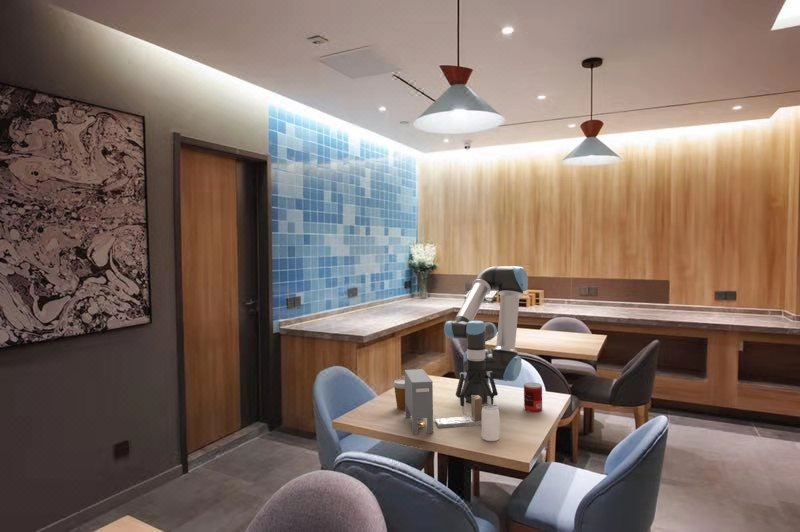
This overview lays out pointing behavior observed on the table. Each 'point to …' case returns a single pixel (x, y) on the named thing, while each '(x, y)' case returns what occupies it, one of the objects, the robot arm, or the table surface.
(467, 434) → the table surface
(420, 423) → the brass token
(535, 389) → the canned food
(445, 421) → the steel scraper
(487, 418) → the can
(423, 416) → the gray cabinet
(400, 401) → the disposable coffee cup
